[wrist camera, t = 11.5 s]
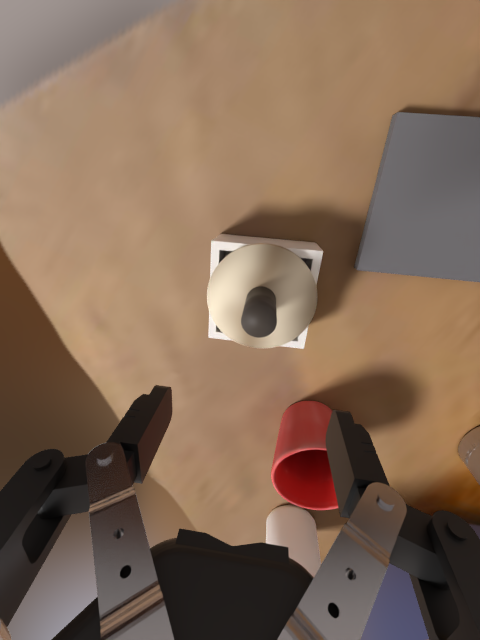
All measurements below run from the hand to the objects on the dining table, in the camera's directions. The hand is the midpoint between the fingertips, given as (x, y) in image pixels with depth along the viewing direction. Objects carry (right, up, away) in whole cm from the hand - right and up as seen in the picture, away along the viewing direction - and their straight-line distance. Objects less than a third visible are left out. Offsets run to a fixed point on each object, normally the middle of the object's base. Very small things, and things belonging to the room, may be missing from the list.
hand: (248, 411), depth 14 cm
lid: (+2, +7, +15) cm, 16 cm away
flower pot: (+10, -10, +27) cm, 31 cm away
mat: (+21, +16, +14) cm, 30 cm away
